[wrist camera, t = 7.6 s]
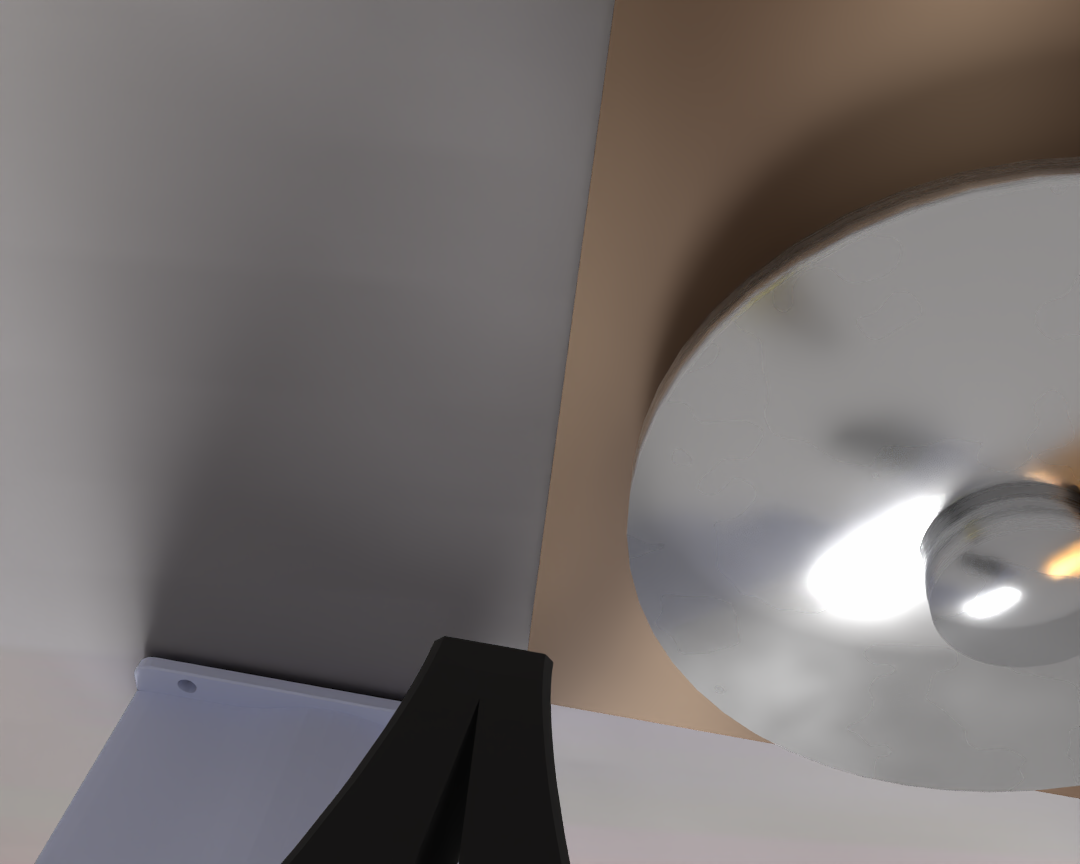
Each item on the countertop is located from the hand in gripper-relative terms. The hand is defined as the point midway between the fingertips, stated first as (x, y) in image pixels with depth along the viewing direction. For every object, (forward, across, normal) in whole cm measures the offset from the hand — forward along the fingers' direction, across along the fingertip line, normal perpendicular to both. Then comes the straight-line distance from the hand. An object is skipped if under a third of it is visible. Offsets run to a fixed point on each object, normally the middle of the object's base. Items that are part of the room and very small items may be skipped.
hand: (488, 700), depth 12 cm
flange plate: (+7, -8, +1) cm, 11 cm away
